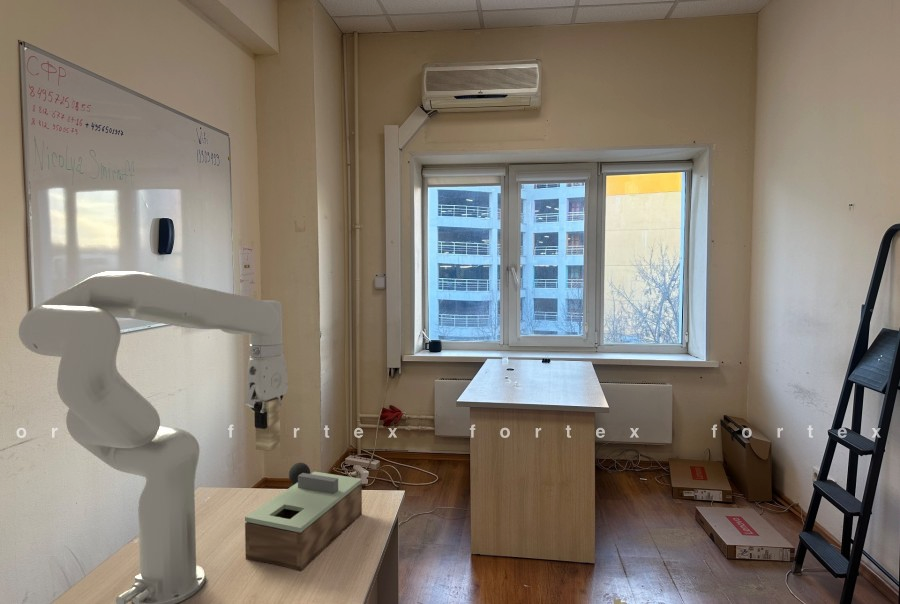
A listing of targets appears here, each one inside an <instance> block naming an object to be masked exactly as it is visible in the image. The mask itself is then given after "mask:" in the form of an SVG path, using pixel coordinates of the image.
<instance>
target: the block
mask: <svg viewBox="0 0 900 604" xmlns="http://www.w3.org/2000/svg"><path fill="white" fill-rule="evenodd" d="M258 404H259V405H260V406H261V402H258ZM280 407H281V406H280ZM280 407H279V398H273V399H270V400H267V401H266V407H265V412H267V428H266V429H261V428H255V450H258V451H265V452H266V451H267V452H271V451H273V450H275V449H277V448H279V447H280V446H281V422H280V421H281V419H280V416H281V413H280V409H281V408H280Z"/></svg>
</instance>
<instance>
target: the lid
mask: <svg viewBox="0 0 900 604" xmlns="http://www.w3.org/2000/svg"><path fill="white" fill-rule="evenodd" d="M362 482H363V480H362V478H359V477H352V476H346V475H345V476H344V475H340V474H333V473H327V472H326V473H325V472H320V471H312V472H310V474H307V473H302V474H300V475H299V476H298V483H296V484H294V485H293V484H292V485H291V486H289V488H287V489H286V490H284V491H282V492H281V493H278V495H276V496H274V497H273V498H271V499H270V500H268V501H267V502H265V503H264V504H262V505H261V506H259V507H258V508H256V509H255V510H253V511H252V512H250V513H248V514H247V515H246V516H244V521H245V522H250V523H255V524H260V525H265V526H270V527H275V528H280V529H285V530H290V531H295V532H300V533H301V532H302V531H303V530H305V529H306V528H307V527H308V526H309V525H311V524H312V523H313V522H314V521H316V520H317V519H318V518H319V517H320V516H322V515H323V514H324V513H325V512H327V511H328V510H329V509H330V508H331V507H333V506H334V505H335V504H336V503H338V502H339V501H340V500H341V499H342V498H344V497H345V496H346V495H347V494H348V493H350V492H351V491H352V490H353V489H355V488H356V487H357V486H358V485H359V484H363V483H362ZM283 509H289V510H295V511H300V512H299V513H298V514H296V515H295V516H294V517H292V518H291V519H286V518H281V517H275V515H276V514H278V513H279V512H280V511H282V510H283ZM245 522H244V523H245Z"/></svg>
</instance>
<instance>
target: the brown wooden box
mask: <svg viewBox="0 0 900 604" xmlns="http://www.w3.org/2000/svg"><path fill="white" fill-rule="evenodd" d="M362 484H363V483H361V484H359V485H358V486H357V487H356V488H355V489H353V490H352V491H351V492H350V493H348V494H347V495H346V496H345V497H344V498H342V499H341V500H340V501H339V502H338V503H336V504H335V505H334V506H333V507H331V508H330V509H329V510H328V511H327V512H325V513H324V514H323V515H322V516H320V517H319V518H318V519H317V520H316V521H314V522H313V523H312V524H311V525H309V526H308V527H307V528H306V529H305V530H303V531H302V532H301V533H300V532H295V531H290V530H285V529H280V528H275V527H270V526H265V525H260V524H255V523H250V522H244V534H245V535H244V536H245V537H244V539H245V546H244V547H245V560H249V561H254V562H258V563H263V564H267V565H271V566H275V567H280V568H283V569H288V570H291V571H297V572H302V571H304V570H305V569H306V567H308V565H310V564H311V563H312V562H313V561H314V560H316V558H317V557H319V555H320V554H321V553H323V552H324V551H325V549H327V548H328V547H329V546H330V545H331V544H332V543H333V542H334V541H335V540H337V538H338V537H339V536H340V535H341V534H343V533H342V532H343V531H344V530H345V529H346V530H347V529H348V528H349V527H351V526H352V524H353V523H355V521H356V520H358V519H359V517H360V516H362V514H363V506H362V505H363V500H362V499H363V485H362ZM299 512H300V511H295V510H289V509H283V510H282V511H280V512H279V513H278V514H276V515H275V517H281V518H286V519H291V518H292V517H294V516H295V515H296V514H298V513H299ZM346 530H345V531H346Z"/></svg>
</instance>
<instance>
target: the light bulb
mask: <svg viewBox="0 0 900 604" xmlns="http://www.w3.org/2000/svg"><path fill="white" fill-rule="evenodd" d="M302 473H307V474H311V469H310V467H309V465H308V464H306V463H305V462H296V463H295V464H293V465H291V467H290V469H289V472H288V479H289V481H290V482H291V484H292V486H293V485H294V484H296V483H298V476H299V475H300V474H302Z"/></svg>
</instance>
